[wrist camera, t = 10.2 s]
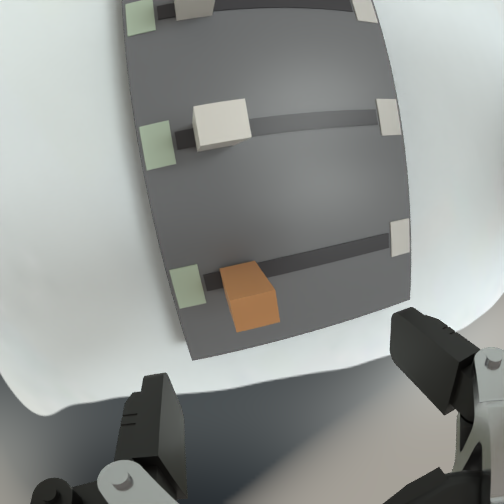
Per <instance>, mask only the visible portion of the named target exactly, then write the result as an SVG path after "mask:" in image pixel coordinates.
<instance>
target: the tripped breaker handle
mask: <svg viewBox="0 0 504 504" xmlns="http://www.w3.org/2000/svg"><path fill="white" fill-rule="evenodd" d="M220 273H221V278H222V282H223V287H224V292H225V296H226V299H227V302H228V306H229V309H230V312H231V316H232V319H233V322H234V325H235V329H236V332H241V331H246V330H250V329H254V328H258V327H262V326H266V325H270V324H274V323H278V322H280V317H279V311H278V304H277V297H276V291H275V289H274V287H273V286H272V284H271V283H270V282H269V280H268V279H267V277H266V276H265V274H264V273H263V272H262V270H261V269H260V267H259V266H258V264H257V263H256V262H255V261H251V262H246V263H242V264H237V265H233V266H228V267H224V268H220Z"/></svg>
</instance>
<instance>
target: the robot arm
mask: <svg viewBox="0 0 504 504" xmlns="http://www.w3.org/2000/svg"><path fill="white" fill-rule="evenodd" d="M390 354H391V357H392V359H393V361H394V363H395V364H396V365H397V366H398V367H399V368H400V369H401V370H402V371H403V372H404V373H405V374H406V375H407V377H408V378H409V379H410V380H411V381H412V382H413V383H414V384H415V385H416V386H417V387H418V388H419V389H420V390H421V391H422V392H423V393H424V394H425V395H426V396H427V398H428V399H429V400H430V401H431V402H432V403H433V404H434V405H435V406H436V407H437V408H438V409H439V410H440V411H441V412H442V413H443V415H446V414H448V413H449V412H451V411H453V410H454V409H456V410H457V411H458V415H457V423H456V453H455V462H454V466H453V469H452V472H451V473H447V474H444V473H443V472H442V470H441V469H440V468H439V467H438V468H436V469H435V470H433V471H431V472H429V473H428V474H426V475H424V476H422V477H421V478H419V479H417V480H415V481H413V482H411V483H409V484H407V485H406V486H405V487H404V488H403V489H401V490H400V491H399V492H397V493H396V494H395V495H394V496H392V497H391V498H390V499H388V500H387V501H386V502H385V503H383V504H504V350H502V349H500V348H495V347H488V348H484V349H481V350H480V349H479V348H478V347H476V346H475V345H474V344H472V343H471V342H470V341H468V340H467V339H465V338H464V337H463V336H461V335H460V334H458V333H457V332H456V333H455V331H454V330H453V329H451V328H450V327H448V326H447V325H446V324H444V323H443V322H442V321H440V320H439V319H436V318H433V317H430V316H427V315H423V314H422V313H420V312H419V311H418V310H416V309H415V308H413V307H410V308H407V309H404V310H401V311H399V312H396V313H394V314H393V315H392V318H391V336H390ZM184 428H185V427H184V416H183V412H182V408H181V406H180V403H179V401H178V398H177V396H176V393H175V391H174V389H173V386H172V384H171V381H170V379H169V377H168V375H167V373H160V374H154V375H148V376H144V378H143V383H142V388H141V392H134V393H132V394H131V396H130V397H129V398H128V400H127V401H126V403H125V405H124V410H123V417H122V420H121V427H120V430H119V435H118V441H117V446H116V452H115V458H114V462H113V463H111V464H109V465H107V466H106V467H105V468H104V469H103V470H102V471H101V472H100V474H99V476H98V480H97V481H94V482H91V483H87V484H83V485H79V486H75V487H71V486H70V485H69V484H68V483H67V482H66V481H64V480H62V479H59V478H49V479H46V480H44V481H43V482H41V483H39V484H38V485H37V487H36V488H35V490H34V492H33V495H32V499H31V503H30V504H179V503H177V499H187V498H188V496H187V479H186V460H185V459H186V458H185V431H184V430H185V429H184Z"/></svg>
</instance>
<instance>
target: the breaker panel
mask: <svg viewBox="0 0 504 504" xmlns="http://www.w3.org/2000/svg"><path fill="white" fill-rule="evenodd" d="M122 11H123V26H124V38H125V49H126V59H127V68H128V76H129V85H130V92H131V100H132V107H133V114H134V120H135V126H136V133H137V139H138V145H139V150H140V156H141V161H142V167H143V172H144V177H145V182H146V187H147V192H148V197H149V202H150V206H151V211H152V215H153V220H154V224H155V228H156V233H157V237H158V241H159V245H160V249H161V253H162V257H163V261H164V265H165V269H166V273H167V277H168V280H169V284H170V288H171V292H172V295H173V299H174V302H175V306H176V309H177V313H178V316H179V319H180V323H181V326H182V329H183V333H184V336H185V339H186V342H187V346H188V349H189V352H190V355H191V358H192V361H193V360H198V359H203V358H208V357H212V356H217V355H222V354H226V353H230V352H235V351H239V350H243V349H247V348H252V347H256V346H260V345H264V344H268V343H271V342H275V341H279V340H283V339H287V338H290V337H294V336H298V335H301V334H305V333H308V332H312V331H315V330H319V329H322V328H325V327H329V326H332V325H335V324H339V323H342V322H345V321H348V320H351V319H354V318H358V317H361V316H364V315H367V314H370V313H373V312H376V311H379V310H382V309H384V308H387V307H390V306H393V305H396V304H399V303H401V302H404V301H407V300H410V284H411V224H410V202H409V187H408V175H407V165H406V155H405V147H404V139H403V131H402V125H401V118H400V112H399V106H398V100H397V95H396V89H395V84H394V80H393V75H392V70H391V66H390V61H389V57H388V53H387V49H386V45H385V41H384V37H383V34H382V30H381V26H380V23H379V20H378V16H377V13H376V10H375V6H374V3H373V0H122ZM251 261H255V262H256V263H257V264H258V266H259V267H260V269H261V270H262V272H263V273H264V274H265V276H266V277H267V279H268V280H269V282H270V283H271V284H272V286H273V287H274V289H275V291H276V297H277V304H278V311H279V317H280V322H278V323H274V324H270V325H266V326H262V327H258V328H254V329H250V330H246V331H241V332H236V329H235V325H234V322H233V319H232V316H231V312H230V309H229V306H228V302H227V299H226V296H225V292H224V287H223V282H222V278H221V273H220V268H224V267H228V266H233V265H237V264H242V263H246V262H251Z"/></svg>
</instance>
